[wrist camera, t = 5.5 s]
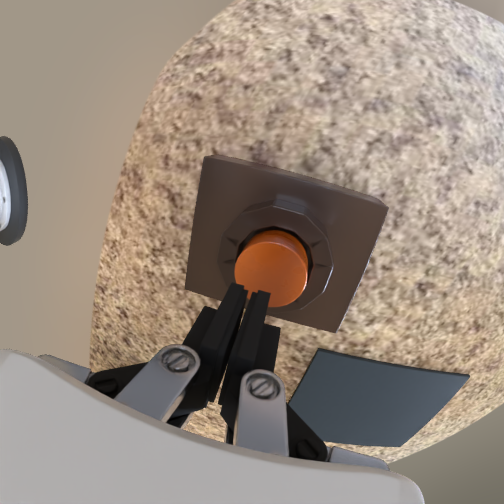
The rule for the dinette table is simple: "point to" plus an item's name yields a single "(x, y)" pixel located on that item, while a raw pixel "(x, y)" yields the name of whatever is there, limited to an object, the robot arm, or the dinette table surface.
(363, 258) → the button box
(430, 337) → the dinette table surface
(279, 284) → the button
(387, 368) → the mat
